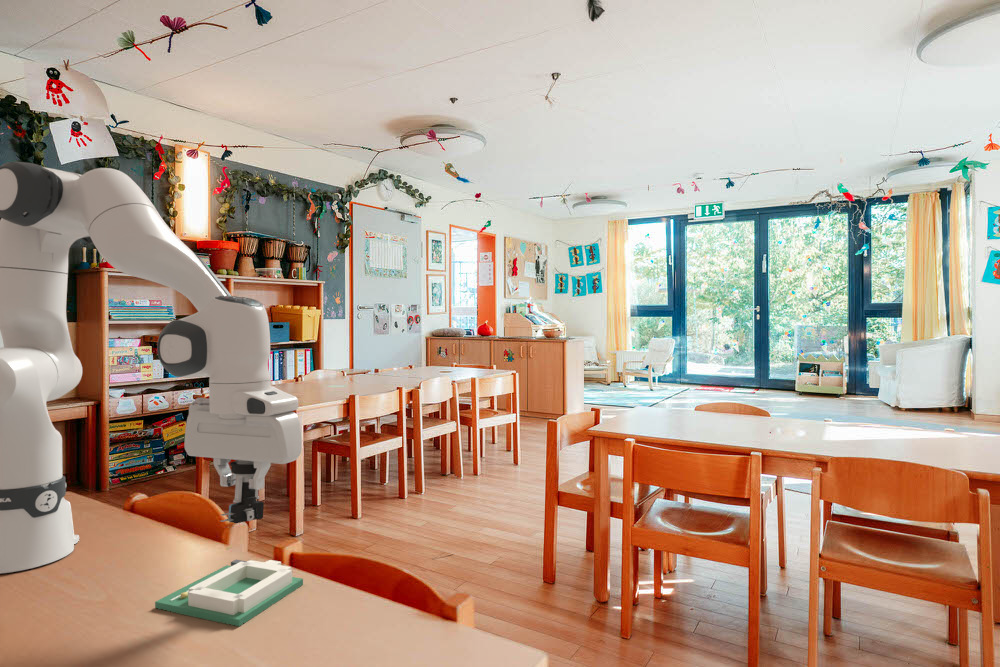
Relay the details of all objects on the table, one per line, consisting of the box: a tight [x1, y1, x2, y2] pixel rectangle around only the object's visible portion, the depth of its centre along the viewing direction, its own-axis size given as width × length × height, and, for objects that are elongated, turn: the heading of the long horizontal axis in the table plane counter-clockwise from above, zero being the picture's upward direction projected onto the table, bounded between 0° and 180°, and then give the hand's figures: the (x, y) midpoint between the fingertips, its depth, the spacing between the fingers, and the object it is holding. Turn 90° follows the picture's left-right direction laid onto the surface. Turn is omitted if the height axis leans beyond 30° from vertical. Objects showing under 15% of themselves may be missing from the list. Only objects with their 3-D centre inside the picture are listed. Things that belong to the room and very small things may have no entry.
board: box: [154, 559, 304, 627], centre depth 91 cm, size 16×14×3 cm
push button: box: [219, 460, 265, 524], centre depth 90 cm, size 7×5×10 cm
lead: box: [230, 559, 247, 566], centre depth 100 cm, size 10×1×1 cm, turn 71°
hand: (242, 487), depth 90 cm, fingers closed on push button, 4 cm apart
